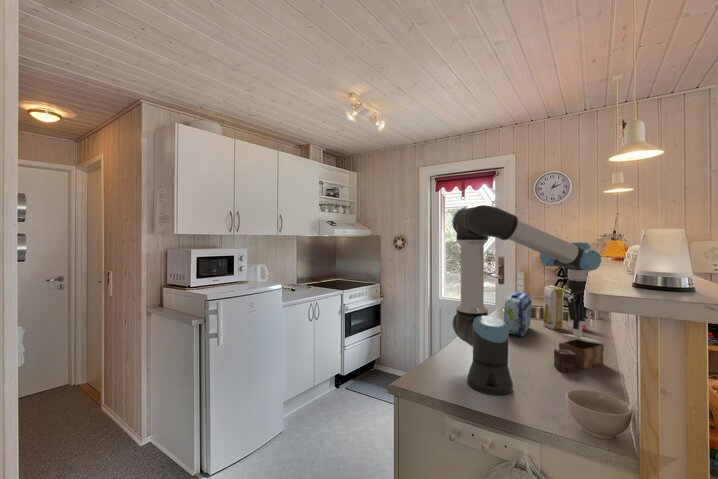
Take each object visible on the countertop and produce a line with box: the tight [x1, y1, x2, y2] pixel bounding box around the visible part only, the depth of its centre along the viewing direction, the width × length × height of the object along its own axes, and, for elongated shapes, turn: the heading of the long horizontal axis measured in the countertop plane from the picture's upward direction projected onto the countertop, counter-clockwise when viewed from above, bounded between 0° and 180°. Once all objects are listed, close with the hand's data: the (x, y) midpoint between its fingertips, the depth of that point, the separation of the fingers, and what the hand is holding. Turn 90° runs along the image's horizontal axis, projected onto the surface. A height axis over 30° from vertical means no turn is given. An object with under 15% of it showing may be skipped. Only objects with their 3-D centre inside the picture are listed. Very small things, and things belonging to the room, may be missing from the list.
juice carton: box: [543, 285, 565, 330], centre depth 191 cm, size 9×8×24 cm
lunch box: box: [503, 292, 532, 338], centre depth 183 cm, size 26×11×21 cm, turn 144°
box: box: [553, 348, 577, 374], centre depth 133 cm, size 6×6×7 cm
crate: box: [558, 338, 604, 371], centre depth 140 cm, size 14×10×8 cm
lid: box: [560, 333, 605, 345], centre depth 140 cm, size 14×10×1 cm
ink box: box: [567, 316, 587, 331], centre depth 190 cm, size 9×5×12 cm, turn 179°
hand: (577, 336), depth 138 cm, fingers closed
